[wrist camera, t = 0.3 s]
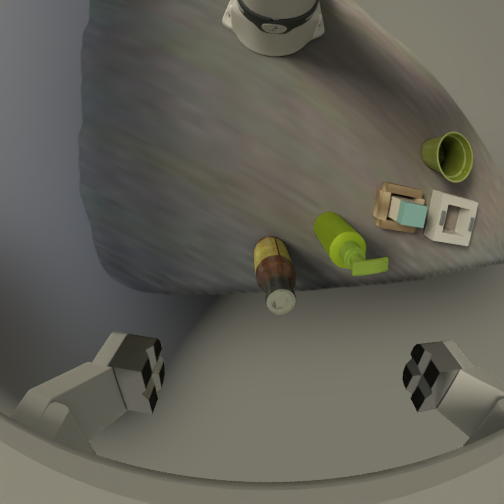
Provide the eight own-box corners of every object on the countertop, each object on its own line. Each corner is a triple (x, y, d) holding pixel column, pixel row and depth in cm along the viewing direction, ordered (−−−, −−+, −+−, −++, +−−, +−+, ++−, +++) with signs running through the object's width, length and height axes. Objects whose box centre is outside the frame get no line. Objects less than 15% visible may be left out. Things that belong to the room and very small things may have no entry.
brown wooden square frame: (379, 180, 51) (385, 182, 49) (418, 189, 52) (426, 191, 49) (371, 223, 54) (377, 227, 52) (410, 229, 55) (417, 233, 52)
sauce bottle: (250, 260, 58) (247, 315, 39) (259, 230, 56) (260, 275, 37) (282, 269, 58) (292, 326, 40) (292, 240, 56) (309, 288, 37)
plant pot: (454, 162, 49) (479, 167, 41) (426, 184, 51) (449, 191, 43) (436, 123, 47) (460, 123, 39) (406, 144, 49) (429, 146, 41)
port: (433, 189, 51) (444, 193, 47) (467, 198, 52) (479, 203, 47) (423, 234, 55) (434, 241, 51) (458, 240, 55) (469, 247, 51)
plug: (387, 194, 52) (405, 202, 45) (407, 198, 52) (427, 206, 45) (383, 213, 54) (401, 224, 46) (404, 217, 54) (423, 228, 46)
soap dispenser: (348, 239, 56) (388, 284, 37) (314, 242, 56) (341, 291, 37) (348, 210, 54) (391, 244, 35) (313, 213, 54) (341, 249, 35)
